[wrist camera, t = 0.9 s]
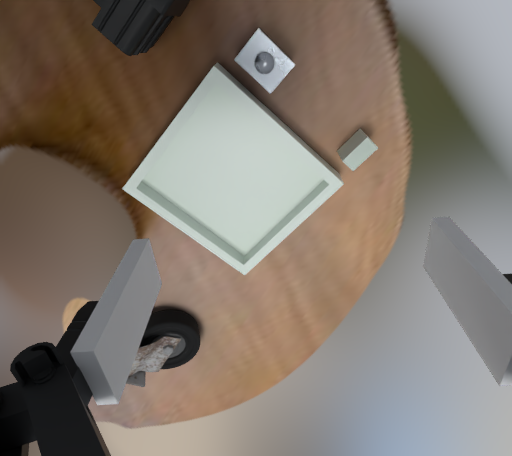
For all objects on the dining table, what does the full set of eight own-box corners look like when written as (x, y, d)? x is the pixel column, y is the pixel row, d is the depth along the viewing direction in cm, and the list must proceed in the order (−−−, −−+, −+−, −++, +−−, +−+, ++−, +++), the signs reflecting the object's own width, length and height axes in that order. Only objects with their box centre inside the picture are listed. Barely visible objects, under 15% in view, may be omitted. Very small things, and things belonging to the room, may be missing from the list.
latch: (236, 56, 32) (233, 60, 29) (259, 27, 31) (258, 28, 28) (270, 87, 33) (270, 95, 30) (292, 61, 32) (295, 65, 29)
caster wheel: (207, 309, 51) (173, 357, 54) (131, 283, 46) (97, 337, 49) (214, 345, 45) (175, 397, 48) (127, 320, 40) (90, 379, 43)
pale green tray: (130, 178, 38) (120, 190, 36) (250, 18, 31) (248, 18, 28) (245, 261, 43) (244, 277, 41) (373, 141, 36) (381, 151, 33)
